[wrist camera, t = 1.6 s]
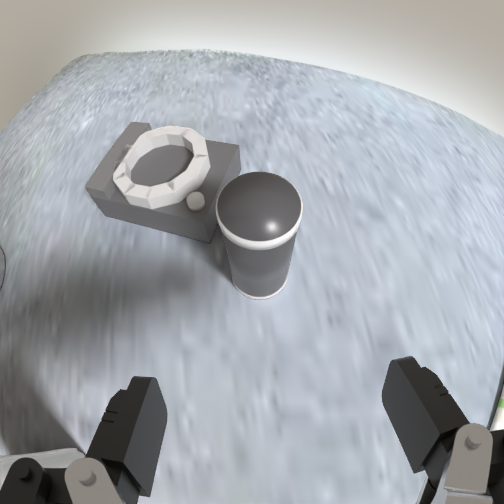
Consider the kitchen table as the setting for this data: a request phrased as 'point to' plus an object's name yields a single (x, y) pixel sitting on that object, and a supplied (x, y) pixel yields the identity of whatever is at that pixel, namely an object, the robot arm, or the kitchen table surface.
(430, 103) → the kitchen table surface
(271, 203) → the lens
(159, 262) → the kitchen table surface
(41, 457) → the photo printer
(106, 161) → the camera body
